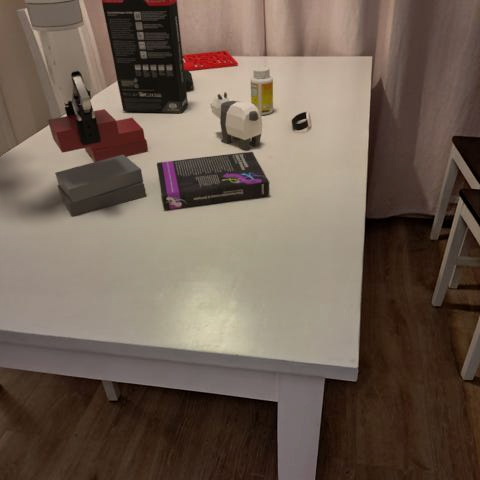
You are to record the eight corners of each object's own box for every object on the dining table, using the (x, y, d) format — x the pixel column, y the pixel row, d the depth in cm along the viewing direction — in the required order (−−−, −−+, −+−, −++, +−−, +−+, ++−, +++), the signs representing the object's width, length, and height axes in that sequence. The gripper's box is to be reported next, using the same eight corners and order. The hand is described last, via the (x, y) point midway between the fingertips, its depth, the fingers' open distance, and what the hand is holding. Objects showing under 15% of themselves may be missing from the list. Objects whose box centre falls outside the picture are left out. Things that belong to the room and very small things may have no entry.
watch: (309, 133, 108) (310, 116, 105) (289, 132, 108) (289, 116, 106) (312, 121, 113) (313, 106, 111) (293, 121, 114) (293, 105, 112)
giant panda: (265, 145, 103) (265, 99, 97) (247, 152, 101) (245, 106, 94) (223, 130, 112) (220, 87, 106) (205, 136, 109) (201, 92, 103)
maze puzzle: (237, 65, 158) (237, 62, 157) (179, 71, 155) (179, 69, 155) (226, 52, 173) (226, 50, 172) (173, 58, 170) (172, 56, 169)
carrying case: (158, 81, 147) (158, 94, 136) (156, 70, 145) (156, 83, 134) (191, 78, 148) (194, 91, 137) (190, 67, 146) (193, 80, 135)
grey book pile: (72, 216, 82) (63, 190, 79) (60, 196, 89) (52, 171, 86) (147, 196, 87) (142, 170, 84) (131, 178, 94) (126, 153, 90)
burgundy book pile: (96, 163, 100) (90, 140, 97) (85, 149, 106) (79, 127, 103) (149, 151, 104) (145, 128, 101) (135, 138, 110) (131, 116, 107)
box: (163, 213, 83) (270, 197, 85) (160, 195, 81) (269, 179, 82) (159, 179, 93) (254, 165, 95) (156, 162, 91) (253, 148, 93)
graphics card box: (190, 106, 127) (176, -17, 109) (183, 114, 122) (168, -13, 104) (131, 105, 130) (108, -14, 112) (122, 113, 125) (96, -10, 107)
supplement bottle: (275, 109, 122) (275, 66, 115) (269, 116, 118) (269, 71, 111) (255, 108, 123) (254, 65, 116) (248, 115, 119) (247, 71, 112)
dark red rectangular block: (62, 152, 77) (56, 132, 75) (53, 139, 82) (47, 119, 79) (120, 140, 80) (116, 120, 78) (108, 128, 85) (104, 109, 83)
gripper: (19, 10, 73) (53, 125, 85) (40, 27, 62) (76, 158, 74) (67, 5, 76) (93, 117, 88) (96, 20, 64) (121, 148, 76)
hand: (85, 135), depth 81 cm, fingers closed on dark red rectangular block, 7 cm apart
